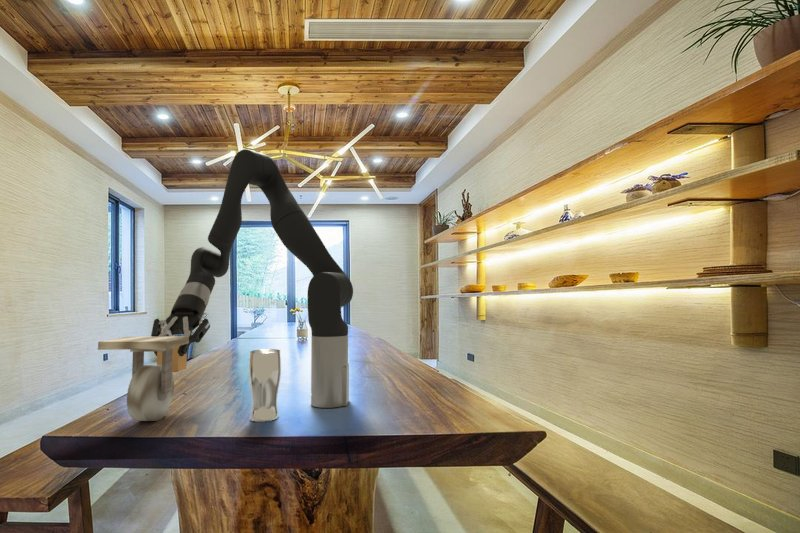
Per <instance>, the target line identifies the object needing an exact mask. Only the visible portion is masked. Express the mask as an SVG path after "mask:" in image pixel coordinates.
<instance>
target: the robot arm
mask: <svg viewBox="0 0 800 533" xmlns="http://www.w3.org/2000/svg"><path fill="white" fill-rule="evenodd" d="M249 185H252V186H257V187H258V188H259V189H260V190H261V191H262V192H263V194H264V195H265V197H266V199H267V200H268V203H269V206H270V214H269V216H270V223H271V226H272V228H273V229H274V231H275V233H276V235H277V237H278V238H279V240H280V242H281V243H282V244H283V246H284V247H285V248H286V249H287V250H288V251H289V252H290V253H291V254H293V256H294V257H295V258H297V259H298V260H299V261H300V262H301V263H302V264H304V266H305V267H306V268H307V269H308V270H309V272H310V273H311V275H312V278H311V279H310V280H309V283H308V287H307V319H308V324H309V327H310V330H311V345H310V346H311V350H310V351H311V359H310V360H311V362H310V364H311V366H310V367H311V368H310V369H311V370H310V371H311V372H310V374H311V375H310V378H311V379H310V382H311V383H310V405H311V406H312V407H314V408H315V407H316V408H323V409H331V408H332V409H333V408H339V407H347V406H348V403H349V402H350V399H349V398H350V386H349V385H350V363H349V325H348V323H347V322H346V321H345V320H344V319H343V316H342V307H345V306H348V304H349V303H350V302H351V301H352V299H353V297H354V287H353V284H352V282H351V279H350V277H348V275H346V273H345V271H344V270H343V268H341V266H339V264H338V263H337V262H336V260H335V259H334V257H333V256H332V255H331V253H330V252H329V251H328V249H327V247H326V246H325V244H324V243H323V241H322V239H321V238H320V236H319V234H318V233H317V231H316V230H315V229H314V226H313V225H312V222H311V221H310V220H309V218H308V217H307V214H306V213H305V212H304V211H303V209H302V207H300V204H299V203H298V201H297V200H296V198H295V196H294V195H293V194H292V192H291V190H290V189H289V187H288V185H287V183H286V182H285V179H284V178H283V175H282V173H281V171H280V170H279V167H278V165H277V164H276V161H275V160H274V159H273V158H272V157H271V156H270V155H268V154H265V153H262V152H259V151H256V150H252V149H248V148H247V149H240V150H239V151H238V152H237V153H236V154H235V156H234V157H233V159H232V162H231V165H230V168H229V173H228V176H227V181H226V183H225V188H224V192H223V196H222V200H221V204H220V207H219V210H218V213H217V216H216V217H215V219H214V222H213V225H212V227H211V229H210V231H209V233H208V236H207V241H208V243H209V244H210V245H211V246H213V247H214V248H216V249H217V251H215V250H212V249H210V248H207V247H203V246H201V247H198V248H196V249H195V250H194V251H193V252H192V254H191V258H190V271H189V276H188V278H187V280H186V282H185V285H183V287H182V289H181V290H180V291H179V294H178V296H177V298H176V301H175V302H174V304H173V306H172V308H171V311H170V315H169V316H168V317H167V318H166V319H162V320H160V319H159V318H155V319H154V320H153V324H152V330H151V335H150V337H162V336H177V335H183V336H189V343H188V344H184V345H181V346H180V347H179V349H178V354H179V356H184V354H186V353H188V351H189V348H190V346H191V345H192V344H193V343H196V344H198V343H200V342H201V341H202V339H203V338H204V336H205V335H206V333H208V331H209V329H210V328H211V323H210V322H209V319H208V318H204V319H202V318H203V317H204V314H205V311H206V308H207V306H208V304H209V301H210V298H211V295H212V291H213V289H214V288H215V287H214V286H215V285H216V278H222V277H223V276H225V275H226V273H227V272H228V271H229V268H230V267H229V266H230V258H231V252H232V248H233V245H234V242H235V241H236V238H237V236H238V234H239V232H240V229H241V226H242V221H243V214H242V213H243V212H242V200H243V195H244V193H245V191H246V189H247V187H248V186H249ZM218 251H219V252H218ZM194 329H195V331H194ZM193 331H194V332H193ZM153 353H154V355H155V356H156V357H157V351H155V352H153Z"/></svg>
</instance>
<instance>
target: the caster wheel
mask: <svg viewBox="0 0 800 533" xmlns="http://www.w3.org/2000/svg"><path fill="white" fill-rule="evenodd" d="M188 343H189V336H184V335H182V336H180V335H179V336H177V335H175V336H162V337H152V336H124V337H123V336H122V337H118V338H114V339H108V340H106V339H105V340H102V341H98V342H97V350H99V351H101V350H102V351H103V350H106V351H109V350H110V351H111V350H115V351H116V350H117V351H118V350H129V352H131V353H132V364H131V366H132V368H131V369H132V371H131V373H132V374H131V379H130V381H129V384H128V387H127V393H126V407H127V411H128V414H129V416H130V418H131V419H132V420H133V421H135V422H155V421H156V422H158V421H160V420H162V419H163V418H165V416H166V415H167V413H168V411H169V409H170V408H171V405H172V403H173V398H174V392H175V391H174V390H175V380H174V379H175V378H174V374H173V372H172V353H173V349H174V348H175V347H177V346H181V345H184V344H188ZM155 351H162V365H157V364H144V362H145V352H152V353H154V352H155Z"/></svg>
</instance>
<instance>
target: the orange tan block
mask: <svg viewBox="0 0 800 533" xmlns="http://www.w3.org/2000/svg"><path fill="white" fill-rule="evenodd" d="M179 347H180V346H177V347H175V348H174V349H173V353H172V373H179V372H181V371H184V370H186V369H187V365H188V364H187V362H188V361H187V358H188V354H187V353H188V352H187V353H186V354H184V356H179V354H178V349H179ZM156 365H162V351H157V356H156Z"/></svg>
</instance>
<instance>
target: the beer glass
mask: <svg viewBox="0 0 800 533" xmlns="http://www.w3.org/2000/svg"><path fill="white" fill-rule="evenodd" d="M281 359H282V358H281V350H280V349H275V348H266V349H265V348H262V349H253V350H251V351H249V359H248V360H249V361H248V362H249V363H248V382H249V388H250V394H251V402H252V403H251V412H250V416H249V420H250V421H251V422H253V421H255V422H254V423H266V422H265V421H269V422H271V421H272V420H273V421H275V419H276V420H278V418H279V410H278V403H277V402H278V393H279V388H280V383H281V376H282V360H281ZM273 421H272V422H273Z"/></svg>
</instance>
